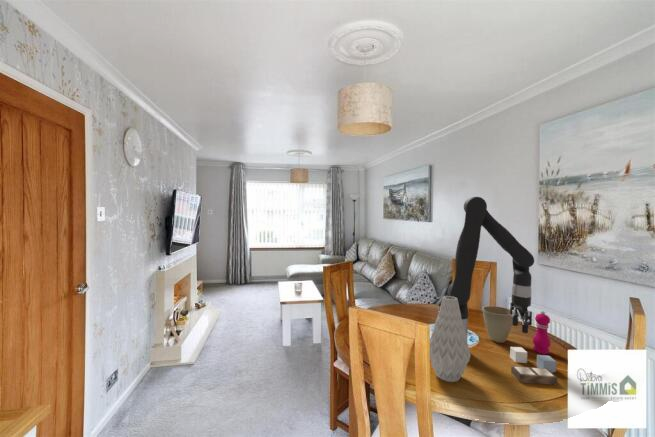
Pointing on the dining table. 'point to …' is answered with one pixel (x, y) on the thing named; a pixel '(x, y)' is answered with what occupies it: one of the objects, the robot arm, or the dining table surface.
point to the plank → (533, 375)
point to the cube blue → (546, 362)
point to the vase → (449, 342)
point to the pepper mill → (542, 334)
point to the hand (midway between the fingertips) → (519, 329)
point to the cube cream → (518, 354)
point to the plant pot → (497, 322)
